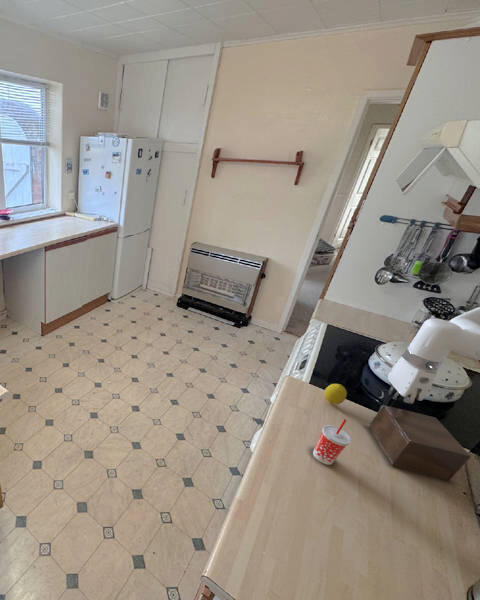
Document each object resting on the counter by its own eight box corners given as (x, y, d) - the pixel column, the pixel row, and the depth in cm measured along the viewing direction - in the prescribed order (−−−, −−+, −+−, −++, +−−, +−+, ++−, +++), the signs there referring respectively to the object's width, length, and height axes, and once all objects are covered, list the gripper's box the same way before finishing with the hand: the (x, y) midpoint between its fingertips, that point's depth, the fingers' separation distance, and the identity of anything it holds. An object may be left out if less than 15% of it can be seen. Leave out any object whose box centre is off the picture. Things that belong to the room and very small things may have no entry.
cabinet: (368, 428, 99) (383, 404, 94) (417, 441, 95) (435, 417, 91) (391, 465, 87) (410, 440, 83) (448, 481, 84) (471, 456, 79)
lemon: (341, 403, 108) (351, 385, 104) (338, 412, 104) (349, 393, 100) (321, 394, 111) (331, 376, 107) (319, 402, 107) (329, 384, 104)
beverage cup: (339, 470, 84) (364, 432, 78) (313, 462, 86) (335, 425, 80) (331, 451, 89) (354, 415, 83) (306, 444, 91) (327, 408, 85)
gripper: (455, 379, 85) (418, 428, 93) (421, 349, 98) (391, 394, 106) (421, 371, 87) (387, 420, 95) (392, 343, 100) (364, 388, 108)
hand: (389, 407), depth 100 cm, fingers closed
